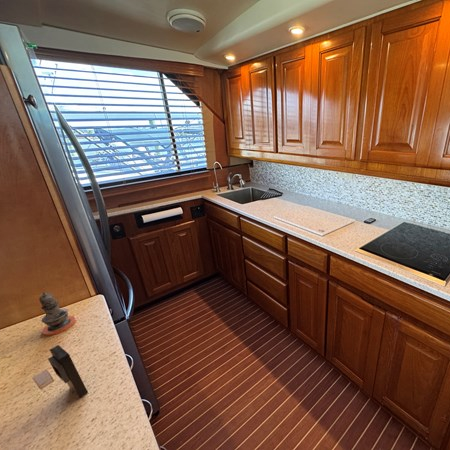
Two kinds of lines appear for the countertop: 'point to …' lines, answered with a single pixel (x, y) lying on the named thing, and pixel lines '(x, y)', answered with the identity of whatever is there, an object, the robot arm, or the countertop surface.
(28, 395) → the countertop surface
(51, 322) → the grey buddha statue
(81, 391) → the flush panel
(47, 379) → the flush button
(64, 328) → the coaster
